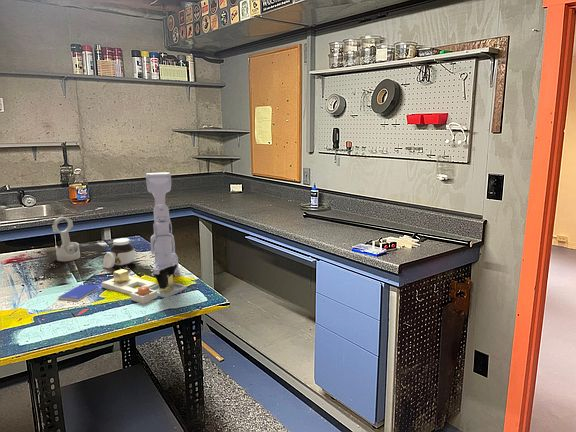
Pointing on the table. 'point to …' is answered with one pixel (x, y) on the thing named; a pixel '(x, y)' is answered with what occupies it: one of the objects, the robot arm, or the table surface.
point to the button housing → (144, 298)
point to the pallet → (127, 285)
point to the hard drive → (78, 292)
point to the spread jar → (119, 254)
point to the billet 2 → (168, 284)
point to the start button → (143, 290)
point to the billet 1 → (121, 276)
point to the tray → (165, 294)
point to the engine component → (66, 243)
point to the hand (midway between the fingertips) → (166, 285)
